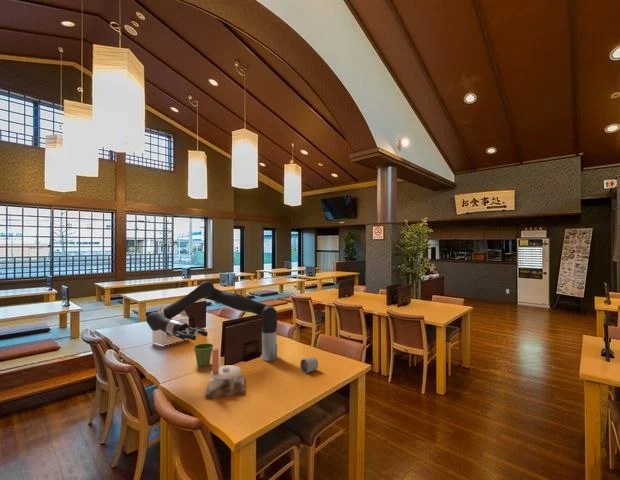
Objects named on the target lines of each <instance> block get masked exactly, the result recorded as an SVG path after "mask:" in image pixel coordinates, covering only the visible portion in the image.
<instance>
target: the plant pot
mask: <svg viewBox="0 0 620 480" xmlns="http://www.w3.org/2000/svg"><path fill="white" fill-rule="evenodd" d="M214 346H215V345H214V344H213V343H211V342H210V343H208V342H205V343H198V344H195V345H194V346H193V347H192V348H193V350H194V354H195V359H196V366H197V367H200V366H201V367H207V366H209V365H210V364H211V363H210V362H211V359H212V349H214ZM208 364H209V365H208ZM206 365H207V366H206Z"/></svg>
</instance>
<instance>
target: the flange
mask: <svg viewBox="0 0 620 480" xmlns="http://www.w3.org/2000/svg"><path fill="white" fill-rule="evenodd" d="M219 349H220V348H213V349H212V353H211V359H212V360H211V362H212V363H211V366H212V367H211V372H210V374H211V375H210V377H211V378H212V379H211V378H209V379H210V380H209V379H208V382H209V389H213V388H215V387H217V380H227V379H230V378H232V377H234V378H235V377H237V376H241V370H242V368H241V367H239V366H237V365H222V366H219V365H220V364H219V363H220V362H219V359H220V356H219V353H220V352H219V351H220V350H219Z"/></svg>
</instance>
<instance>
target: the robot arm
mask: <svg viewBox="0 0 620 480" xmlns="http://www.w3.org/2000/svg"><path fill="white" fill-rule="evenodd" d="M201 299H205V300H210V301H213V302H216V303H219V304H221V305H224V306H226V307H228V308H231V309H234V310H236V311H240V312H244V313H245V312H246V313H252V314H254V315H257V316H259V317H261V318H262V327H261V354H262V355H261V358H262V360H263V361H265V362H266V361H267V362H273V361H276V360H278V341H277V328H278V312H277V310H276V308H275V307H274V306H272V305H269V304H265V303H261V302H257V301H255V300H254V299H252V298H249V297H247V296H244V295H242V294H240V293H236V292H232V291H231V292H230V291H225V290H220V289H218V288H217V287H215V285H214V284H213V283H212V282H211V281H206V280H205V281H203V282H201V283H200V284H199V285H198V286H196V287H195V289H193V290H191V292H189V293H188V294H186V295H184V296H183V297H181V298H179V299H178V300H176V301H174V302H173V303H171V304H169V306H168V305H167V306H168V307H166V308H165V309H164V310H163V311H164V313H161V314H160V313H157V312H158V311H154V312H150V313H149V314H148V315H146V317H145V321H146V323H147V324H148V326H149V328H150V329H151V330H153V331H157V330H162V331H163V332H166V334H168V335H174V336H176V337H178V338H180V339H183V340H185V338H186V339H189V340H191V341H196V339H197V336H198V335H200V336H203V337H208V334H209V333H208V331H205V328H202V327H199V326H194V327H190V324H189V325H188V324H186V323H183V322H180V321H176V320H172V318H173V317H175V316H176V315H179V313H181V312H182V311H184V310H185V311H186V310H187V309H188V308H189V307H191V306H192V305H193V304H194V303H196V302H198V301H199V300H201Z"/></svg>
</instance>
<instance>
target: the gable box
mask: <svg viewBox="0 0 620 480" xmlns="http://www.w3.org/2000/svg"><path fill="white" fill-rule="evenodd" d="M169 305H170V304H169ZM169 305H163V306H160V308H159V309H160V310H158V311H156V312H157V313H160V314H164V311H163V310H164V309H165V308H166V307H168V306H169ZM172 320H176V321H180V322H183V323H186V324H188V325H189V326H190V324H189V323H190V322H189V320H190V318H189V315H188V314H187V312H186V309H185V310H184V311H182V312H181V313H179V314H178V315H176V316H175V317H173V318H172ZM151 330H152V329H151ZM151 334H152V337H151V338H152V342H154V343H158V344H161V345H164V344H167V343H171V342H175V341H179V340H183V339H180V338H174V339H172V340H170V341H167V338H168V337H172V336H174V335H171V334H168V333H166V332H163V331H162V330H157V331H153V330H152V331H151ZM185 339H186V338H185Z"/></svg>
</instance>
